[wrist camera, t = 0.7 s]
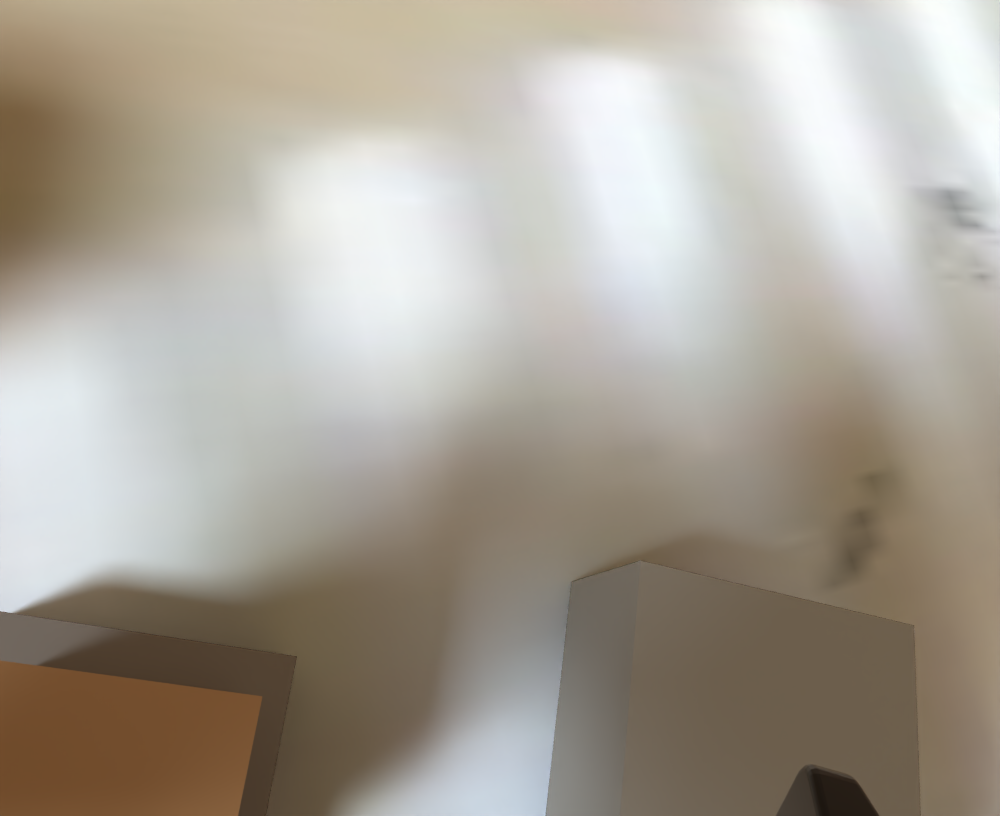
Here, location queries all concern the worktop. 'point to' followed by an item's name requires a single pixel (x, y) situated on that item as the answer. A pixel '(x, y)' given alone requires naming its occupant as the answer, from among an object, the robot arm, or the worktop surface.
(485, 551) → the worktop surface
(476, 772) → the worktop surface
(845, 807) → the robot arm
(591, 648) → the slate base block
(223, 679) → the plinth
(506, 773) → the worktop surface
